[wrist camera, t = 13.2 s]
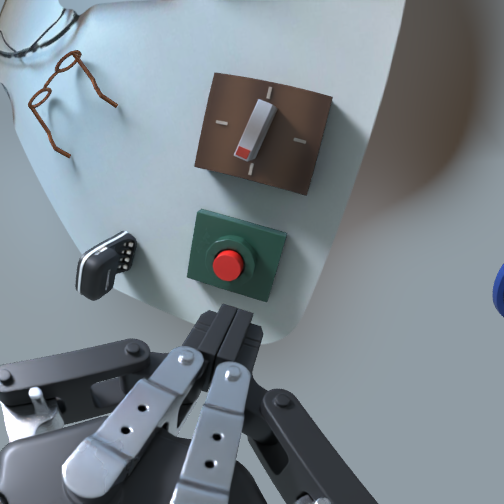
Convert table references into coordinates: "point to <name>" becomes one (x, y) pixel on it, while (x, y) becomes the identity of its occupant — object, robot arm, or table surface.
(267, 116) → the tap handle
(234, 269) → the button
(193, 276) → the button box
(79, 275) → the battery charger
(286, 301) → the table surface
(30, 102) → the glasses
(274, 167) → the block
